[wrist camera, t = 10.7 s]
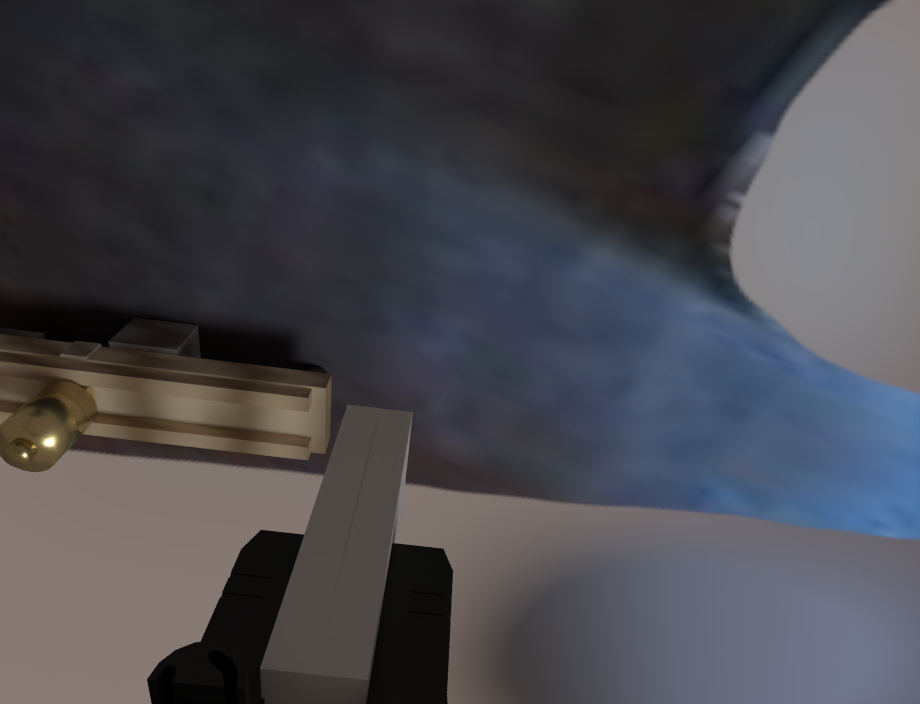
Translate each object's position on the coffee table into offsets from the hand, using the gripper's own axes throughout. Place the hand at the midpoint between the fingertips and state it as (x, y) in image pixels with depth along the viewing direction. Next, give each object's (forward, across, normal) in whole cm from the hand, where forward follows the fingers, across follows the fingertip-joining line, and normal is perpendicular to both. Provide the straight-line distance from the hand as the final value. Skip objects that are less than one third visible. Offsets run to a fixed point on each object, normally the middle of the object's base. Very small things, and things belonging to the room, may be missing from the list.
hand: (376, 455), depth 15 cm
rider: (+26, -25, -19) cm, 41 cm away
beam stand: (+32, -21, -19) cm, 43 cm away
